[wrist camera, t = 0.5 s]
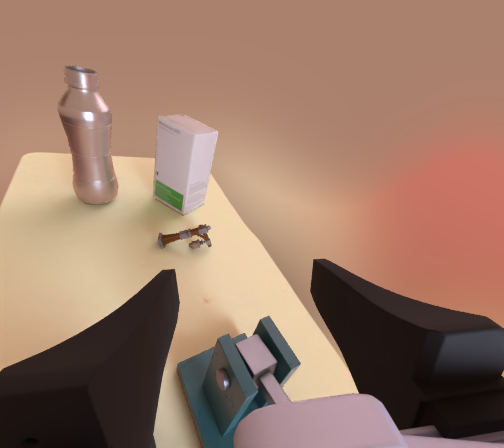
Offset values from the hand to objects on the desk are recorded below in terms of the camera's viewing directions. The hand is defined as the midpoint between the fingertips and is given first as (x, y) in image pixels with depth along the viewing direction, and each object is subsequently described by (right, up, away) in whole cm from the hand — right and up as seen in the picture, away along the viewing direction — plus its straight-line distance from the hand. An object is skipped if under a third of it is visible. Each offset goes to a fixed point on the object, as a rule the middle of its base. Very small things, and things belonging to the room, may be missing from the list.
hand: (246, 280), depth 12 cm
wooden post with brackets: (-11, -1, +27) cm, 29 cm away
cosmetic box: (-14, +7, +36) cm, 40 cm away
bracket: (-2, -14, +11) cm, 18 cm away
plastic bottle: (-27, +7, +30) cm, 41 cm away
